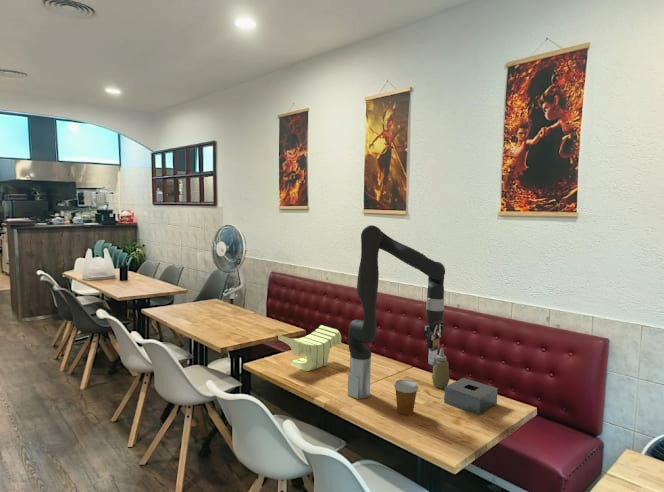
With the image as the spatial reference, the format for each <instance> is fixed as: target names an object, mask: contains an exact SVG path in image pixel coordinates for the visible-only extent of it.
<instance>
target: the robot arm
mask: <svg viewBox="0 0 664 492" xmlns="http://www.w3.org/2000/svg"><path fill="white" fill-rule="evenodd" d="M360 243H361V244H360V247H361V248H360V250H361V253H360V261H359V267H358V273H357V281H356V294H357V296H358V299H359V301H360V304H361V307H362V310H363V319H362V320H361V319H354V320H353V319H352V321H351V322H350V325H349V326H348V327H349V328H348V351H349V354H350V355H349V373H348V374H347V395H348V396H350V397H351V398H354V399H356V400H358V399H366V398H369V397H370V395H371V372H372V371H371V369H372V368H371V367H372V365H371V364H372V351H371V349H370V348H369V347H368V346H366V344H372V342H373V341H374V340H375V338H376V333H377V300H378V291H379V282H380V280H379V278H380V277H379V273H380V272H379V261H378V259H379V252H380V250H382V251H384V252H386V253H388V254H390V255H392V256H394V257H395V258H397V259H398V260H400V261H401V262H403V263H405V264H406V265H408V266H410V267H412V268H414V269H416V270H418V271H419V272H421V273H423V274H424V275H426V277H427V276H428V278H427V283H428V284H427V291H426V292H427V293H426V301H425V302H426V303H425V304H426V306H425V318H426V320H427V323H426V325H423V326H422V328H423V329H422V330H423V337H424V339H426V340H427V342H426V343H427V345H426V347H427V349H429V348H430V349H432V348H433V337H435V338H439V342H440V338H442V337H443V335H444V331H445V325H446V322H445V321H443V320H444V318H445V316H444V315H445V314H444V313H445V312H444V311H445V300H444V299H445V286H444V283H445V275H446V268H445V265H444V264H443V263H442V262H440V261H435V260H433V259H431V258H428V257H427V256H426V255H425V254H424V253H422V252H420V251H418V250H416V249H414V248H412V247H410V246H408V245H405V244H403V243H401V242H399V241H397V240H395V239H394V238H391V237H390V236H388V235H387V234H386V233H385V232H383V231H382V230H381V229H380V228H379V226H377V225H373V224H372V225H371V224H370V225H367V226H366V227H364V228H363V229H362V231H361V233H360Z"/></svg>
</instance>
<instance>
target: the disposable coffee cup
mask: <svg viewBox="0 0 664 492" xmlns="http://www.w3.org/2000/svg"><path fill="white" fill-rule="evenodd" d="M393 387H394V389H395V399H396V409H397V410H396V411H397V413H398V414H400V415H402V416H411V415H413V414H414V408H415V403H416V397H417V391H418V390H419V386H418V383H417V382H416V381H414V380H411V379H406V378H405V379H403V378H402V379H398V380H396V381H395V383H394V386H393Z"/></svg>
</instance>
